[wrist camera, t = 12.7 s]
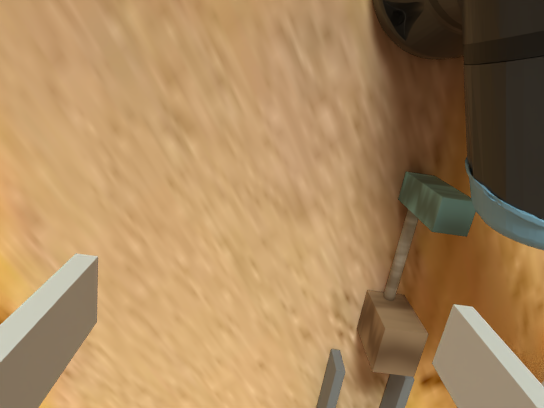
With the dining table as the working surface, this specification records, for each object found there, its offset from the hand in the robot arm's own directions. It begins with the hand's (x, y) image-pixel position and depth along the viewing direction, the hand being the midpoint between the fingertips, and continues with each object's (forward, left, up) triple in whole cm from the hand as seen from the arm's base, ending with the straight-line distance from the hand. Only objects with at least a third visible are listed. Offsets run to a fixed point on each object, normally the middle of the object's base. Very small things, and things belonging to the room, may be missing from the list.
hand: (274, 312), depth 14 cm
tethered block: (+11, +18, -32) cm, 38 cm away
